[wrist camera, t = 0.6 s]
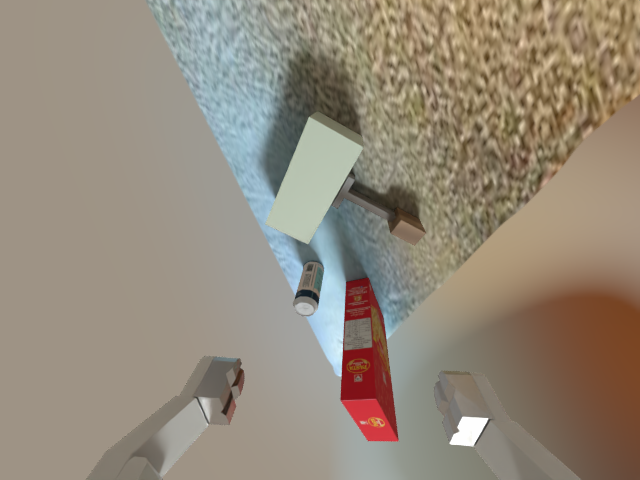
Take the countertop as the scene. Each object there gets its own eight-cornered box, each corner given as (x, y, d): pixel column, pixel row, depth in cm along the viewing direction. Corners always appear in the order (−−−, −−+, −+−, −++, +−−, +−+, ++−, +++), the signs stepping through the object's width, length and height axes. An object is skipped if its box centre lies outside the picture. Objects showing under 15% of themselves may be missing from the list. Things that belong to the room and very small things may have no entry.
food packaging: (383, 319, 61) (398, 441, 40) (363, 322, 62) (367, 441, 42) (368, 277, 54) (376, 398, 33) (346, 282, 55) (340, 400, 35)
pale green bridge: (317, 110, 37) (309, 116, 30) (362, 136, 38) (363, 147, 31) (278, 204, 46) (265, 224, 40) (314, 222, 48) (308, 244, 41)
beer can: (299, 269, 55) (287, 310, 45) (310, 256, 52) (299, 296, 42) (317, 279, 56) (308, 321, 46) (328, 266, 53) (322, 308, 43)
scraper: (348, 172, 41) (348, 181, 37) (424, 212, 44) (432, 226, 39) (332, 200, 44) (330, 212, 40) (404, 236, 47) (409, 251, 43)
